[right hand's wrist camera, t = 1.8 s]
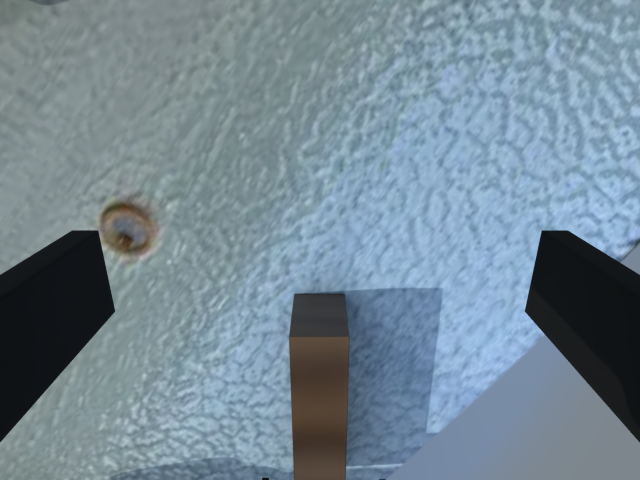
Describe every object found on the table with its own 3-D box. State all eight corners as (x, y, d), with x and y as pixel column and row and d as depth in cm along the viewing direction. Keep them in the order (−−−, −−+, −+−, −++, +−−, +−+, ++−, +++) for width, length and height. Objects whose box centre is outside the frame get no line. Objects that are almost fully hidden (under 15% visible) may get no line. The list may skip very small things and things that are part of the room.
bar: (294, 293, 45) (289, 337, 38) (344, 293, 45) (349, 337, 38) (299, 467, 55) (295, 529, 47) (340, 467, 55) (344, 529, 47)
